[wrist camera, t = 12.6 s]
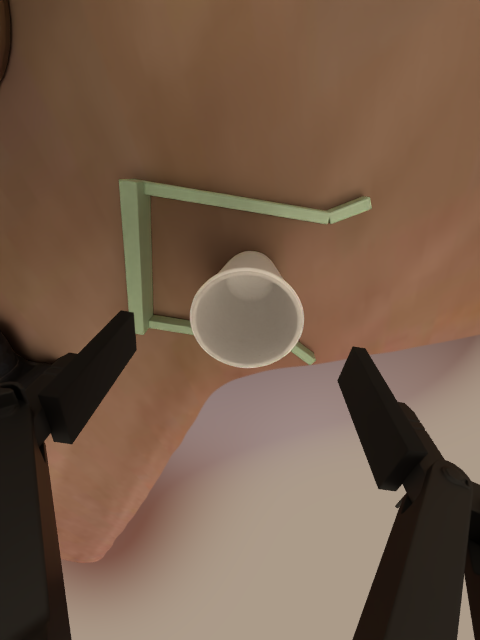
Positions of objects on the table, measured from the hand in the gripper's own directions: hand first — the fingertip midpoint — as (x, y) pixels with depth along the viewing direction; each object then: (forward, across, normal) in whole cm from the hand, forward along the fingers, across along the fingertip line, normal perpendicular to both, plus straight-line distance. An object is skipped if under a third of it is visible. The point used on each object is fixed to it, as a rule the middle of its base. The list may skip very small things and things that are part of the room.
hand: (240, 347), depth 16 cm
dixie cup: (+14, 0, 0) cm, 14 cm away
